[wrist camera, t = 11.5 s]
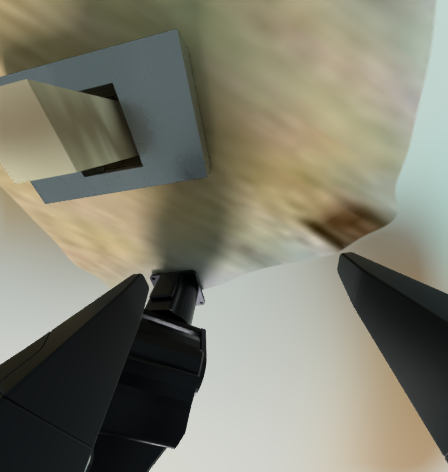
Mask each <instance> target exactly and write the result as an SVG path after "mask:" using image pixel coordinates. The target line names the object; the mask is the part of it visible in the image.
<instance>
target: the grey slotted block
mask: <svg viewBox="0 0 448 472" xmlns="http://www.w3.org/2000/svg"><path fill="white" fill-rule="evenodd" d="M25 79H28V80H33V81H37V82H41V83H45V84H49V85H53V86H57V87H61V88H66V89H70V90H74V91H78V92H82V93H86V94H90V95H94V96H98V97H103V98H104V97H108V96H112V95H117V96H118V99H119V101H120V104H121V107H122V110H123V112H124V115H125V118H126V121H127V123H128V126H129V129H130V132H131V134H132V137H133V140H134V143H135V145H136V148H137V151H138V154H139V156H140V159H141V162H142V164H139V165H133V166H128V167H122V168H117V169H111V170H106V171H105V170H104V168H103V166H98V167H95V168H91V169H87V170H84V171H80V172H76V173H71V174H65V175H60V176H54V177H49V178H44V179H38V180H33V181H30V182H31V184H32V185H33V186H34V188H35V189H36V191H37V192H38V194H39V195H40V197H41V198H42V200H43V201H44V203H45V204H48V203H54V202H60V201H66V200H72V199H78V198H84V197H90V196H96V195H102V194H108V193H115V192H121V191H127V190H133V189H139V188H145V187H151V186H157V185H163V184H169V183H175V182H181V181H188V180H194V179H200V178H206V177H208V176H209V174H210V172H211V166H210V161H209V156H208V150H207V145H206V140H205V135H204V130H203V125H202V119H201V114H200V109H199V104H198V99H197V94H196V88H195V83H194V78H193V73H192V68H191V63H190V57H189V52H188V47H187V46H186V44H185V42H184V40H183V39H182V37H181V35H180V33H179V32H178V30H177V29H174V30H171V31H167V32H163V33H160V34H156V35H152V36H149V37H145V38H141V39H138V40H134V41H130V42H127V43H123V44H119V45H116V46H112V47H108V48H105V49H101V50H97V51H94V52H90V53H86V54H83V55H79V56H75V57H72V58H68V59H64V60H61V61H57V62H53V63H50V64H46V65H42V66H39V67H35V68H31V69H28V70H24V71H20V72H17V73H13V74H9V75H6V76H2V77H0V86H2V85H6V84H10V83H14V82H17V81H21V80H25Z"/></svg>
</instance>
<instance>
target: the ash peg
mask: <svg viewBox="0 0 448 472" xmlns="http://www.w3.org/2000/svg"><path fill="white" fill-rule="evenodd" d="M135 156H139V154H138V151H137V148H136V145H135V143H134V140H133V137H132V134H131V132H130V129H129V126H128V123H127V121H126V118H125V115H124V112H123V110H122V107H121V104H120V102H119V101H115V100H111V99H107V98H103V97H98V96H94V95H90V94H86V93H82V92H78V91H74V90H70V89H66V88H61V87H57V86H53V85H49V84H45V83H41V82H37V81H33V80H28V79H25V80H21V81H17V82H14V83H10V84H6V85H2V86H0V163H1V165H2V166H3V168H4V169H5V170H6V172H7V173H8V174H9V176H10V177H11V179H12V180H13V181H14V183H15V184H17V183H22V182H28V181H33V180H38V179H44V178H49V177H54V176H60V175H65V174H71V173H76V172H80V171H84V170H87V169H91V168H95V167H98V166H102V165H106V164H109V163H113V162H117V161H120V160H124V159H128V158H131V157H135Z"/></svg>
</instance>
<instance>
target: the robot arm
mask: <svg viewBox="0 0 448 472" xmlns="http://www.w3.org/2000/svg"><path fill="white" fill-rule="evenodd" d="M338 274H339V276H340V278H341V281H342V283H343V285H344V287H345V289H346V291H347V294H348V296H349V298H350V300H351V302H352V304H353V306H354V308H355V309H356V311H357V313H358V315H359V316H360V318H361V320H362V321H363V323H364V324H365V326H366V328H367V330H368V331H369V333H370V334H371V336H372V338H373V339H374V341H375V343H376V345H377V346H378V348H379V350H380V351H381V353H382V354H383V356H384V358H385V359H386V361H387V363H388V364H389V366H390V368H391V369H392V371H393V373H394V374H395V376H396V378H397V379H398V381H399V383H400V384H401V386H402V387H403V389H404V391H405V393H406V394H407V396H408V397H409V399H410V401H411V403H412V404H413V406H414V407H415V409H416V411H417V412H418V414H419V416H420V417H421V419H422V421H423V422H424V424H425V426H426V427H427V429H428V431H429V432H430V434H431V436H432V437H433V439H434V441H435V442H436V444H437V446H438V447H439V449H440V451H441V452H442V454H443V455H444V456H445V459H446V461H447V463H448V294H446V293H444V292H442V291H439V290H437V289H435V288H433V287H430V286H428V285H426V284H423V283H421V282H419V281H417V280H414V279H412V278H410V277H407V276H405V275H403V274H401V273H398V272H396V271H394V270H391V269H389V268H387V267H384V266H382V265H380V264H378V263H375V262H373V261H371V260H369V259H366V258H364V257H362V256H359V255H357V254H355V253H352V252H349V253H342V254H340V257H339V263H338ZM153 277H154V278H153ZM150 280H151V282H152V284H153V286H154V288H153V290H152V292H151V294H150V296H149V298H150V299H149V301H148V303H147V305H146V307H145V303H146V299H147V295H148V292H149V286H148V284H147V282H146V280H145V278H144V276H143V275H142V274H133V275H131V276H130V277H128V278H127V279H125V280H124V281H123V282H121V283H120V284H118V285H117V286H115V287H114V288H112V289H111V290H110V291H108V292H107V293H105V294H104V295H102V296H101V297H99V298H98V299H96V300H95V301H94V302H92V303H91V304H89V305H88V306H86V307H85V308H84V309H82V310H81V311H79V312H78V313H76V314H75V315H73V316H72V317H70V318H69V319H68V320H66V321H65V322H63V323H62V324H60V325H59V326H57V327H56V328H55V329H53V330H52V331H51V332H49V333H47V334H46V335H44V336H43V337H41V338H40V339H38V340H37V341H35V342H34V343H32V344H31V345H30V346H28V347H27V348H25V349H24V350H22V351H21V352H19V353H18V354H16V355H14V356H13V357H11V358H10V359H8V360H7V361H5V362H4V363H2V364H1V365H0V472H149V470H150V469H151V467H152V466H153V465H154V464H155V462H156V461H157V460H158V458H159V457H160V456H161V455H162V453H163V452H164V451H165V449H166V448H171V449H175V448H176V446H177V445H178V444H179V442H180V440H181V439H182V437H183V435H184V434H185V431H186V427H187V422H188V417H189V413H190V409H191V404H192V401H193V397H194V395H196V393H197V392H198V390H199V388H200V386H201V383H202V380H203V377H204V373H205V368H206V330H205V329H202V328H201V329H200V328H197V327H194V326H192V325H191V323H192V319H193V314H194V310H195V305H203V304H204V303H205V300H204V296H203V293H202V290H201V287H200V284H199V281H198V277H197V274H196V272H195V271H194V270H188V271H178V272H168V273H159V274H152V275H151V277H150ZM144 307H145V309H144Z"/></svg>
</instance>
